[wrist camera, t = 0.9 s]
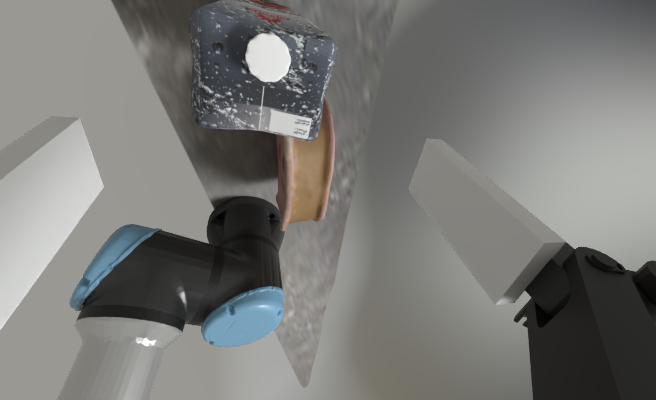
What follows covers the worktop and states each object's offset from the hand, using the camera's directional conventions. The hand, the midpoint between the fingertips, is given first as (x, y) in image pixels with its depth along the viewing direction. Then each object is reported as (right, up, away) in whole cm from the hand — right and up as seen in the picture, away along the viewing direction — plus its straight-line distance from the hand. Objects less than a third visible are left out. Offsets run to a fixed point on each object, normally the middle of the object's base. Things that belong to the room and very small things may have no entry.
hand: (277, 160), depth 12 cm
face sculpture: (-4, +9, +39) cm, 40 cm away
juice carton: (-8, +21, +29) cm, 37 cm away
